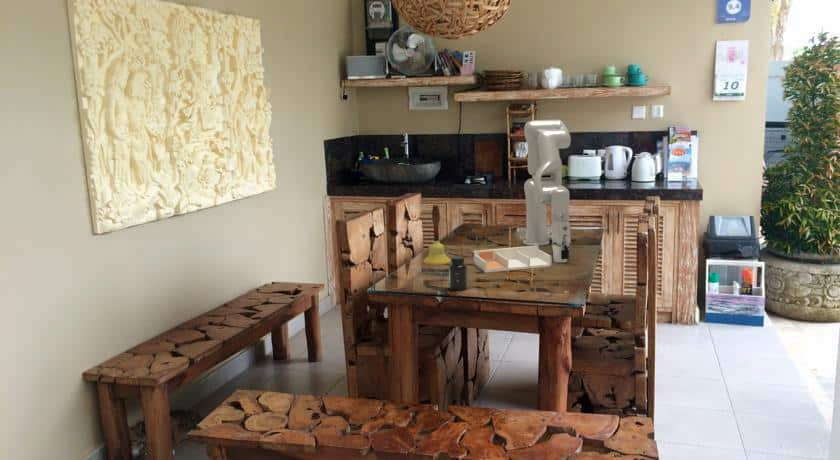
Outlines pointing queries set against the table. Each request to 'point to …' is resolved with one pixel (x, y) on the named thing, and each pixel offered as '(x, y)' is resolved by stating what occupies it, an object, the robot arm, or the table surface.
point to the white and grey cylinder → (557, 253)
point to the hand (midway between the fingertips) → (560, 256)
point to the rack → (511, 259)
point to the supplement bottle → (457, 274)
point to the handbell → (436, 242)
